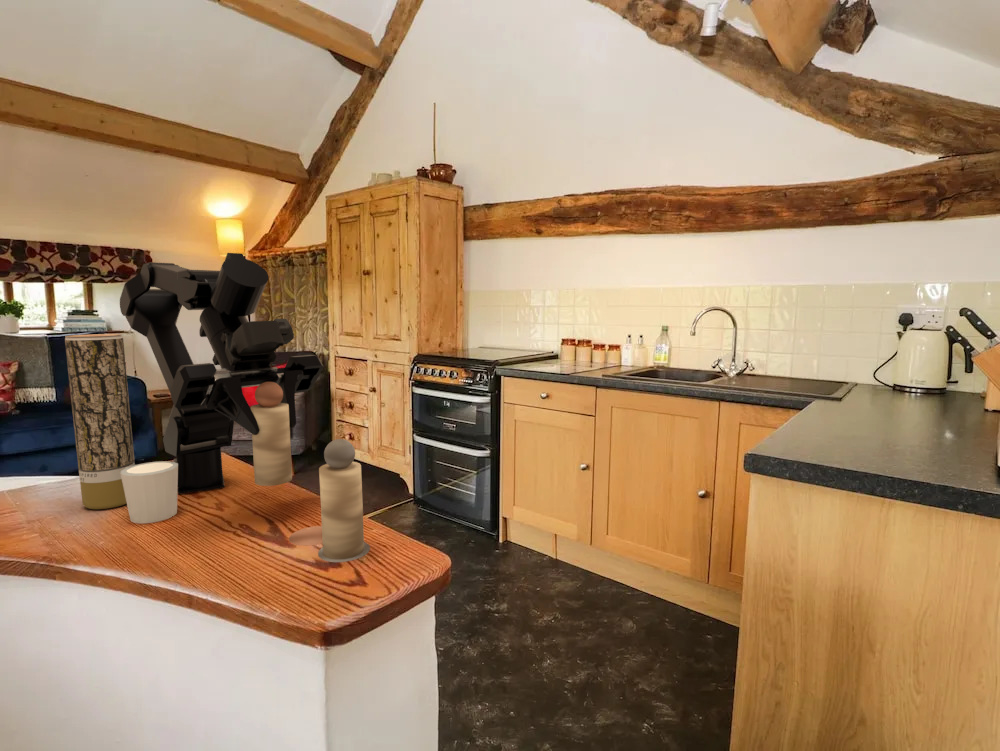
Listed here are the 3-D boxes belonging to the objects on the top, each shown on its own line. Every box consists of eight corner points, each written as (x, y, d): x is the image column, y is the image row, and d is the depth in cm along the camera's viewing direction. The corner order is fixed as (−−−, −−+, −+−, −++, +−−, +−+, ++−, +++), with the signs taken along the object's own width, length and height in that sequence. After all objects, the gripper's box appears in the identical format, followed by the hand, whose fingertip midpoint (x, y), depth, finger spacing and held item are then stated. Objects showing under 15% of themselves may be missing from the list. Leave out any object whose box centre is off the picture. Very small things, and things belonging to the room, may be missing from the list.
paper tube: (110, 512, 80) (92, 337, 76) (70, 509, 81) (51, 336, 78) (148, 496, 86) (134, 334, 83) (111, 493, 87) (95, 333, 84)
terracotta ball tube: (284, 472, 77) (279, 378, 75) (297, 480, 74) (293, 382, 72) (249, 479, 74) (243, 381, 72) (262, 488, 71) (256, 385, 69)
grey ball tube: (358, 539, 68) (354, 432, 66) (368, 553, 64) (364, 441, 62) (319, 547, 66) (314, 437, 64) (327, 562, 62) (322, 446, 60)
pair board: (273, 544, 69) (272, 536, 69) (323, 527, 74) (323, 519, 74) (332, 577, 60) (332, 569, 60) (385, 555, 66) (384, 547, 66)
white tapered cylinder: (121, 514, 79) (117, 466, 78) (177, 503, 83) (173, 457, 82) (128, 529, 74) (123, 478, 73) (187, 516, 78) (183, 468, 77)
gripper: (171, 298, 66) (217, 401, 61) (313, 298, 80) (361, 382, 75) (153, 359, 73) (193, 458, 67) (288, 349, 87) (331, 430, 81)
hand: (276, 429), depth 72 cm, fingers closed on terracotta ball tube, 5 cm apart
